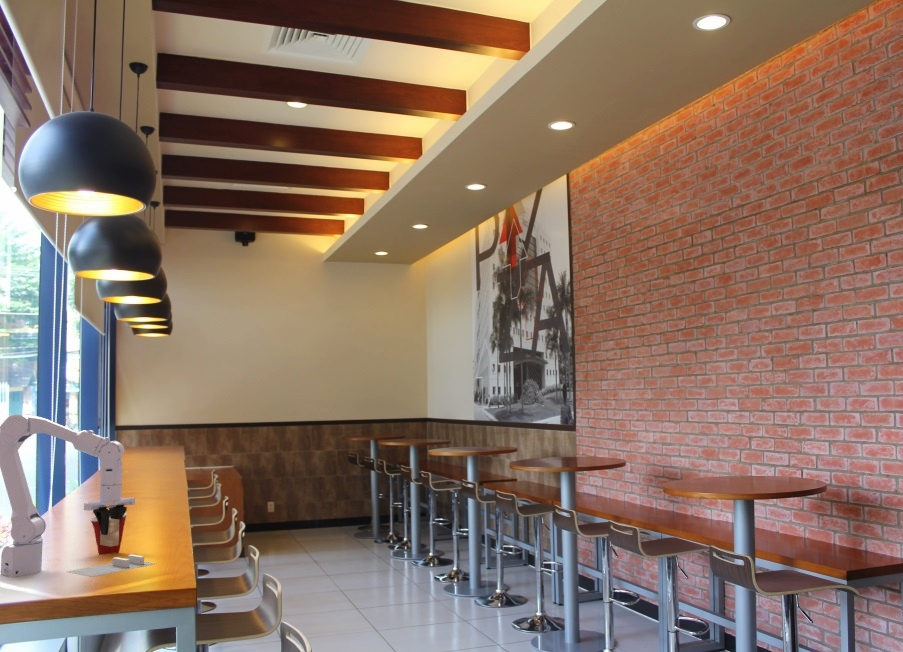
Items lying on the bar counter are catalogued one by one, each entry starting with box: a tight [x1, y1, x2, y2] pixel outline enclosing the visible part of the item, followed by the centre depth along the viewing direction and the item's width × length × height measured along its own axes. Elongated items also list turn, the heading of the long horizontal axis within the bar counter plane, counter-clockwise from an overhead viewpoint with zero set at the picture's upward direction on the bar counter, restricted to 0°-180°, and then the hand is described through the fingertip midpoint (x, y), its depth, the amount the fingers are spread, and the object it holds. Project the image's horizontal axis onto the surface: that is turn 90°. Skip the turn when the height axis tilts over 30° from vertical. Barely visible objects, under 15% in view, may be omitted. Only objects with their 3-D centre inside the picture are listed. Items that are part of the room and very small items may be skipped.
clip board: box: [66, 554, 157, 578], centre depth 221 cm, size 20×12×3 cm, turn 147°
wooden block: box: [100, 518, 119, 546], centre depth 221 cm, size 2×5×7 cm, turn 57°
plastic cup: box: [89, 512, 128, 556], centre depth 246 cm, size 11×11×12 cm
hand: (109, 533), depth 221 cm, fingers closed on wooden block, 2 cm apart
